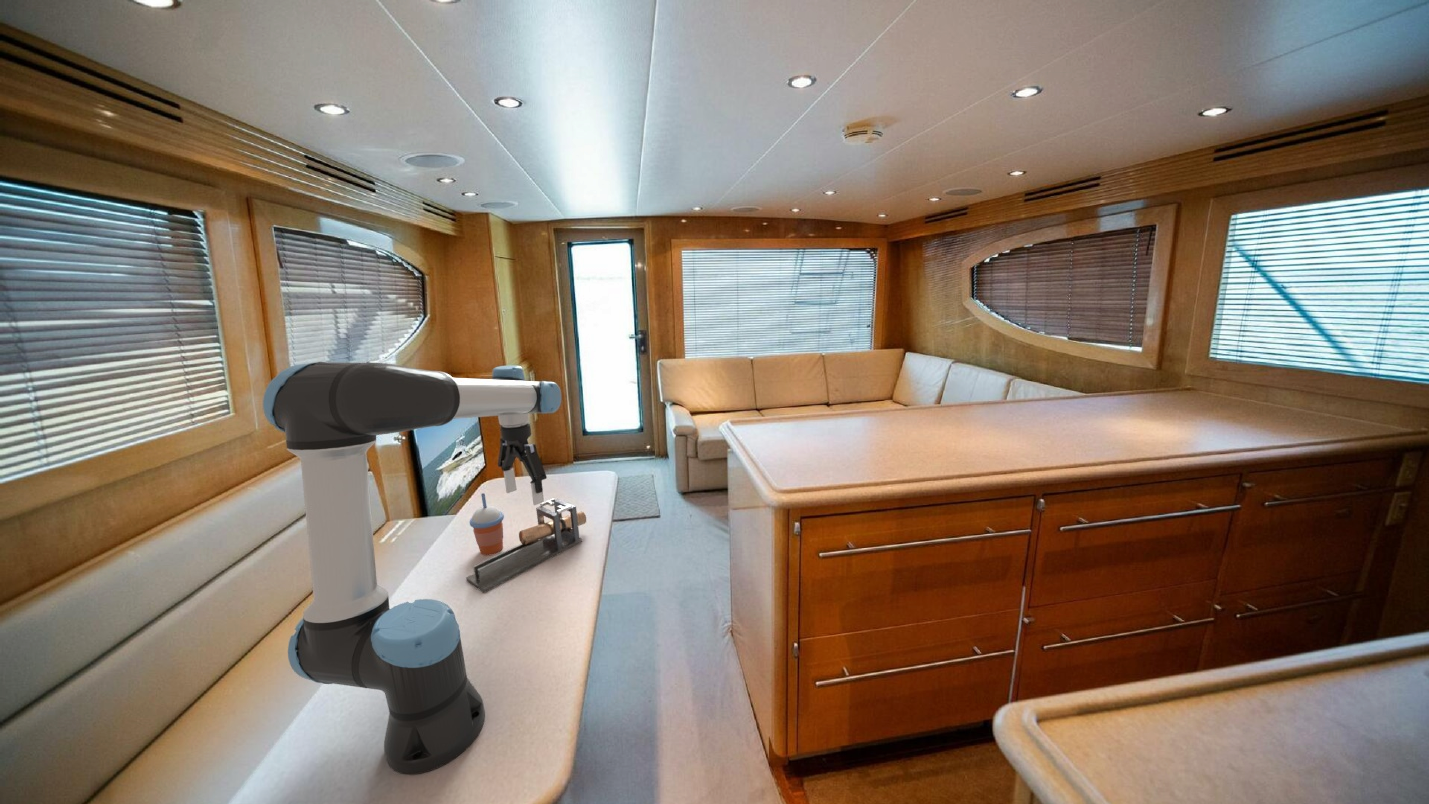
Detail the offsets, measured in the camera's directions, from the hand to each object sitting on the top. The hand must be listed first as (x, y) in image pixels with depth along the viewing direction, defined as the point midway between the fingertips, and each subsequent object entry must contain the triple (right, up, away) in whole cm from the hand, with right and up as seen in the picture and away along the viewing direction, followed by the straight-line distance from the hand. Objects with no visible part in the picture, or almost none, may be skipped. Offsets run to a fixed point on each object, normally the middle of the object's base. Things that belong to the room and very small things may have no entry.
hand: (524, 497), depth 134 cm
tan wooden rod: (+5, -11, +9) cm, 15 cm away
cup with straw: (-13, -18, +9) cm, 24 cm away
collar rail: (0, -19, +3) cm, 19 cm away
